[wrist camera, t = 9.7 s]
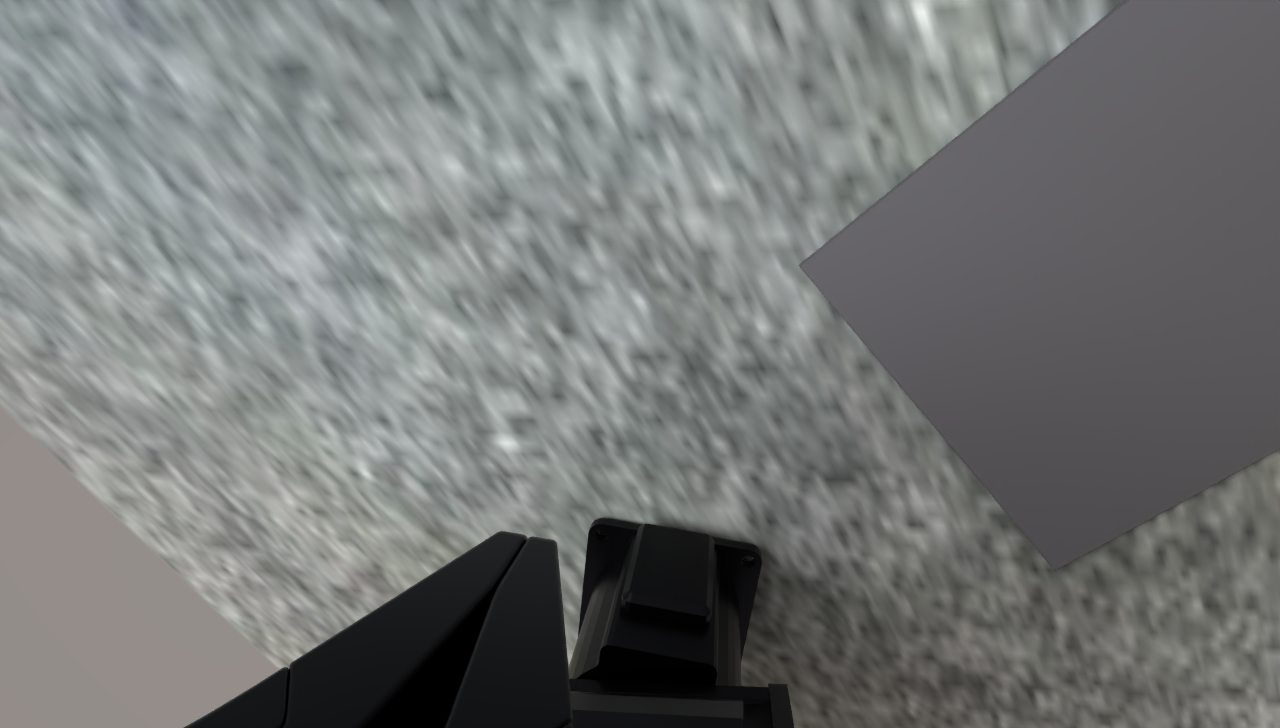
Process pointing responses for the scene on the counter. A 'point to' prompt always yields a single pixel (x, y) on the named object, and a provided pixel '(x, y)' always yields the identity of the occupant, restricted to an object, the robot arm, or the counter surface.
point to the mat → (1092, 274)
